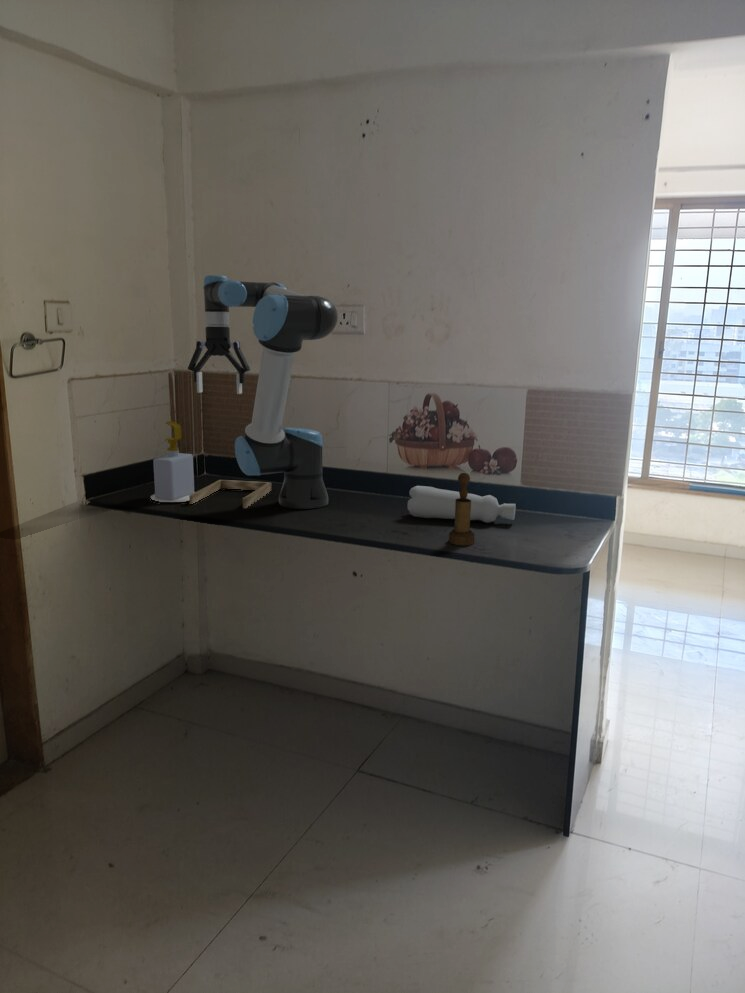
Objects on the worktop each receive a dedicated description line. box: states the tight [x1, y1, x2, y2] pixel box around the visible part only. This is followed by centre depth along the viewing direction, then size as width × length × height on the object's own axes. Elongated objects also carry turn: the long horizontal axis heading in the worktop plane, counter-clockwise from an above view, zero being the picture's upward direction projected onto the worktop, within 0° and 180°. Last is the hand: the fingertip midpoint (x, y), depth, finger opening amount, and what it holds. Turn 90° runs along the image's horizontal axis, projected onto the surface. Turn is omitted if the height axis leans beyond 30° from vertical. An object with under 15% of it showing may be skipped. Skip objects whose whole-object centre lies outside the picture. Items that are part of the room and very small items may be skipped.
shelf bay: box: [189, 479, 273, 509], centre depth 241 cm, size 18×24×3 cm
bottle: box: [407, 485, 517, 524], centre depth 217 cm, size 9×9×30 cm
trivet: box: [149, 491, 196, 502], centre depth 240 cm, size 15×15×1 cm
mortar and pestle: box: [448, 472, 475, 546], centre depth 194 cm, size 7×6×18 cm
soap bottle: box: [152, 420, 195, 500], centre depth 237 cm, size 12×7×23 cm, turn 159°
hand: (219, 393), depth 247 cm, fingers open, 13 cm apart
